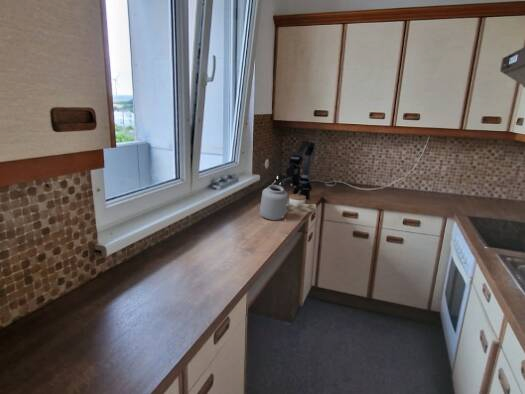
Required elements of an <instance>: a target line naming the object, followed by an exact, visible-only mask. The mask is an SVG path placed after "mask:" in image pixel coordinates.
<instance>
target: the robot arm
mask: <svg viewBox="0 0 525 394" xmlns="http://www.w3.org/2000/svg"><path fill="white" fill-rule="evenodd" d="M299 146H300V147H299V148H298V149H297V151H296V152H293V153H292V154H291V156H290V157H289V161H288V163H287V164H288V166H289V167H287V168H286V171H285V174H286V176H288V177H286V178H283V179H282V180H281V181H282V182H281V183H282V184H283V187H286V186H288V185H289V187H290V188H291V191H292V194H297V193H298V194H300V195H304V196H306V200H311V198H310V196H311V195H310V194H311V191H312V190H313V185H312V183H311V178H310V172H311V165H312V164H311V163H312V159H313V155H314V154H315V153H316V150H317V144H316V143H315V142H312V141H309V140H302V141H301V145H299ZM304 155H305V156H304ZM302 165H303V168H302ZM301 168H302V171H301ZM301 172H302V174H301Z"/></svg>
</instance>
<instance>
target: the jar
mask: <svg viewBox="0 0 525 394" xmlns="http://www.w3.org/2000/svg"><path fill="white" fill-rule="evenodd" d="M276 179H277V180H278V179H279V176H278V175H277V176H276ZM274 183H276V181H274V182H273V183H272V184H270V185H268V186H267V187H265V188H264V189H263V190H262V192H261V193H262V194H261V199H260V201H261V202H260V208H259V213H260V215H261V216H262V217H263V218H264V219H267V220H269V221H278V220H281V219H283V218H284V217H285V215H286V212H285V211H286V205H287V204H288V201H289V194H288V192H287V191H286V190H285V187H284V186H281V185H277V184H274ZM284 220H285V221H287V220H286V219H284Z"/></svg>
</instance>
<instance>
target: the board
mask: <svg viewBox="0 0 525 394" xmlns="http://www.w3.org/2000/svg"><path fill="white" fill-rule="evenodd" d="M316 211H317V205H316V203H305V204H290V203H289V204H288V203H287V205H286V211H285V213H300V212H302V213H303V212H304V213H306V212H311V213H313V212H315V213H316Z"/></svg>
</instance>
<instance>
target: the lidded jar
mask: <svg viewBox="0 0 525 394" xmlns="http://www.w3.org/2000/svg"><path fill="white" fill-rule="evenodd" d="M306 200H307V199H306V196H304V195H300V194H299V192H298V193H297V194H293V193H292V194H288V201H289V204H306Z"/></svg>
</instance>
